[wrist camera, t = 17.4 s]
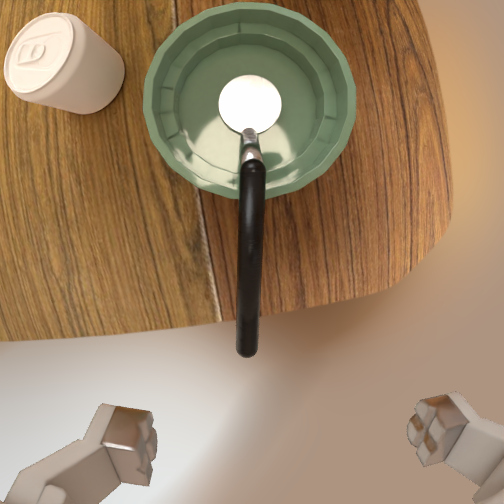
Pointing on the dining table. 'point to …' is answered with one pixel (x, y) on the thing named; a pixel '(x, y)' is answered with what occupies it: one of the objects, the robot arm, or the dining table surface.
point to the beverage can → (63, 65)
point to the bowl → (249, 63)
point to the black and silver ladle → (250, 194)
